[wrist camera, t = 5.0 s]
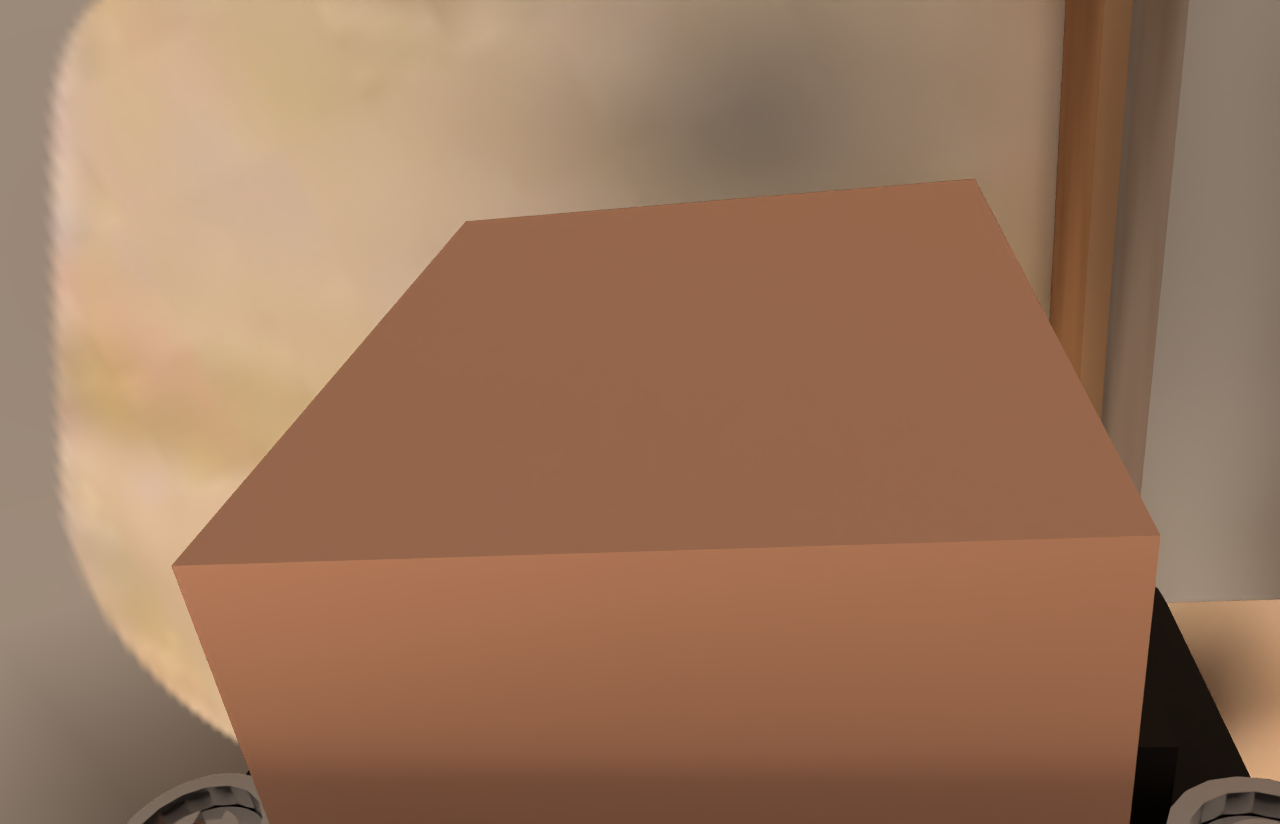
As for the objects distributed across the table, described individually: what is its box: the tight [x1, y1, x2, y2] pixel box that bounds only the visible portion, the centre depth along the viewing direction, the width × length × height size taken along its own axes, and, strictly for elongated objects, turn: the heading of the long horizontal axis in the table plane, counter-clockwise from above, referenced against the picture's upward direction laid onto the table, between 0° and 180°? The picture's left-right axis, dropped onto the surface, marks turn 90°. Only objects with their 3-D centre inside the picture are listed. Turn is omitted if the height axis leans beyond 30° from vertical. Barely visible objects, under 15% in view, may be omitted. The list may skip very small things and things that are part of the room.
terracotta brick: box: [172, 179, 1161, 824], centre depth 10 cm, size 5×8×6 cm, turn 7°
